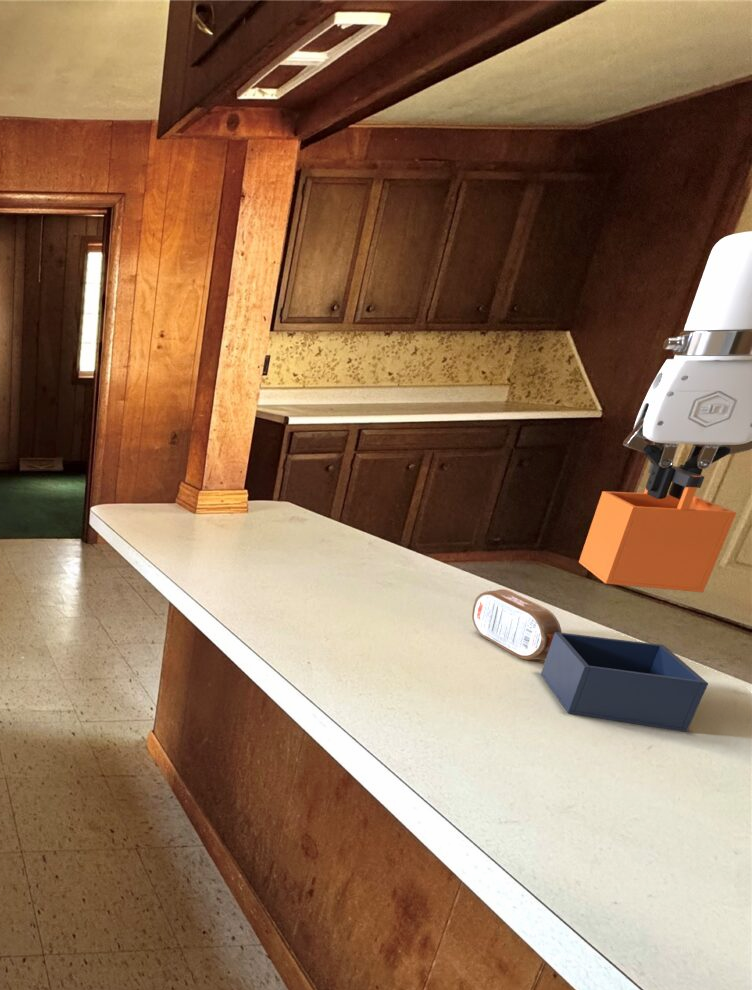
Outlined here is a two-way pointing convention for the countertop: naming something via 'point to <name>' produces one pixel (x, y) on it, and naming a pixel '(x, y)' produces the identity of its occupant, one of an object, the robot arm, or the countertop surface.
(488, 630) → the tin
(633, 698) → the bin outer
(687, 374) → the robot arm
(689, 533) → the basket
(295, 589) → the countertop surface
